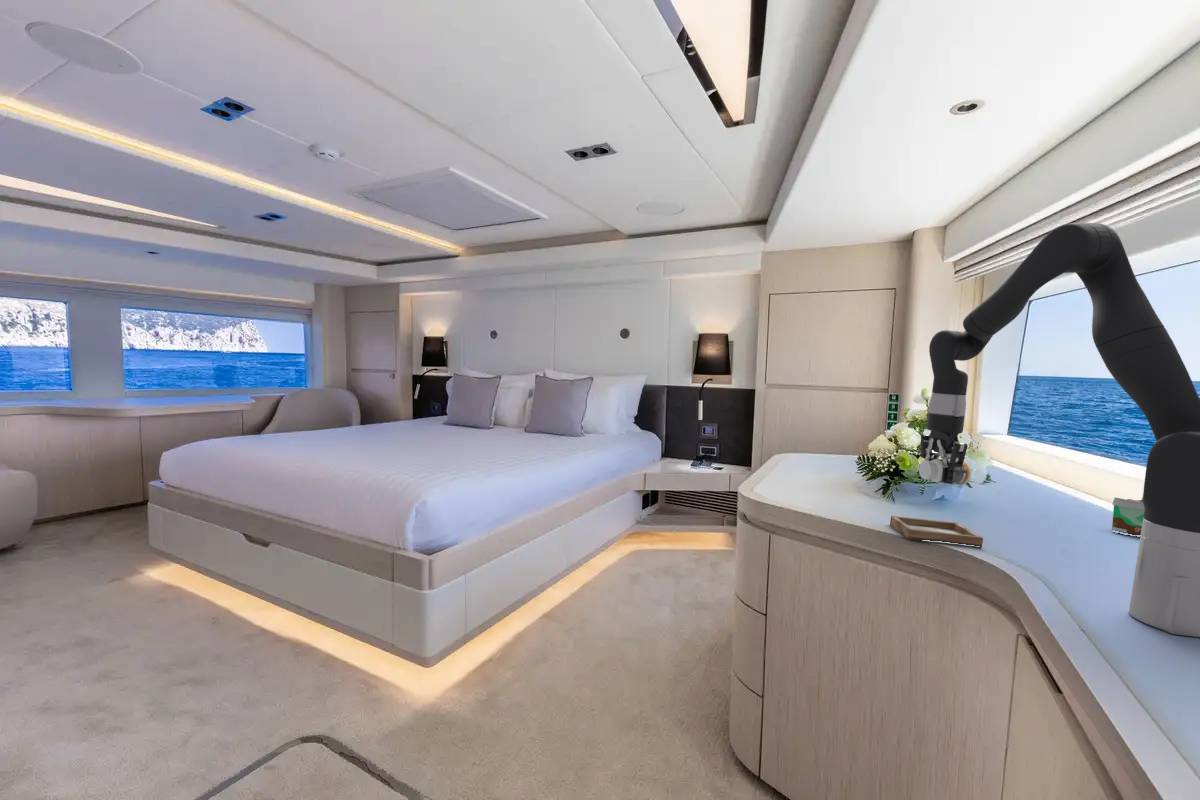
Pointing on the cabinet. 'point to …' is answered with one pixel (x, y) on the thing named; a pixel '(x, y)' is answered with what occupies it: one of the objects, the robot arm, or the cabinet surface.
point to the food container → (1128, 516)
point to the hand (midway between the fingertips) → (938, 479)
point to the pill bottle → (935, 470)
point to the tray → (935, 531)
